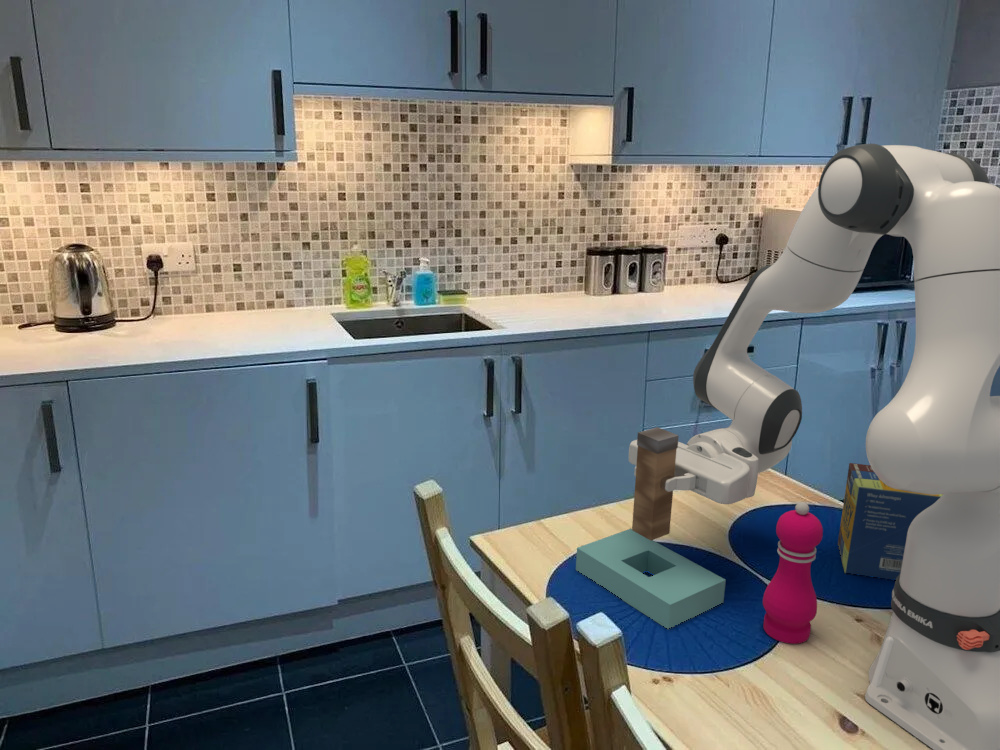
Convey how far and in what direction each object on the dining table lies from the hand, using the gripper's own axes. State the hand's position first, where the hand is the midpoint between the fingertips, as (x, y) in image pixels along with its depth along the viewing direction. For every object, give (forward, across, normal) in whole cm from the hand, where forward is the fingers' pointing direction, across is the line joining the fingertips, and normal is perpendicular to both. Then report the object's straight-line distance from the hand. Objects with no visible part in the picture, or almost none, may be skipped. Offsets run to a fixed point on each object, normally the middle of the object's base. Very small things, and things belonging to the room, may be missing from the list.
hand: (650, 479), depth 120 cm
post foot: (-1, 0, +18) cm, 18 cm away
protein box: (-39, +18, +19) cm, 47 cm away
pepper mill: (-8, +20, +18) cm, 28 cm away
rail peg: (-1, 0, +9) cm, 9 cm away
